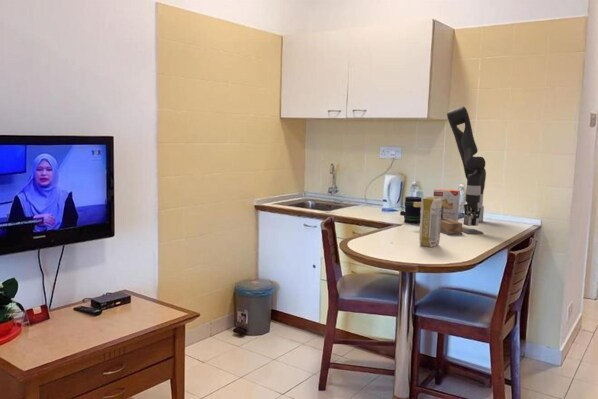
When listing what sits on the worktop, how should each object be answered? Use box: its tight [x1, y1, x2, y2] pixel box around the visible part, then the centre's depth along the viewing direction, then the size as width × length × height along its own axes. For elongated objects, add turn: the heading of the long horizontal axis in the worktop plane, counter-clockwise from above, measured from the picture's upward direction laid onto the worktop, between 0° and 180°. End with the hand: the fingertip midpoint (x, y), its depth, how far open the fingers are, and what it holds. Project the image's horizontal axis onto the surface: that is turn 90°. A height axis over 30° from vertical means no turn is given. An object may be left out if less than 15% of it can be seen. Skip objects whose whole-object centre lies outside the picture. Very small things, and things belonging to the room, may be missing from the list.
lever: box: [413, 202, 445, 218], centre depth 291 cm, size 18×4×9 cm, turn 99°
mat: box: [462, 228, 485, 235], centre depth 285 cm, size 9×10×1 cm
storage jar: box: [403, 196, 423, 225], centre depth 311 cm, size 10×10×15 cm
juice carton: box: [418, 195, 442, 248], centre depth 249 cm, size 9×8×24 cm
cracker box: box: [432, 188, 461, 222], centre depth 304 cm, size 14×6×21 cm, turn 62°
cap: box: [463, 214, 480, 227], centre depth 284 cm, size 6×5×5 cm
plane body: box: [440, 217, 464, 236], centre depth 287 cm, size 9×21×6 cm, turn 11°
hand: (471, 224), depth 285 cm, fingers closed on cap, 5 cm apart
